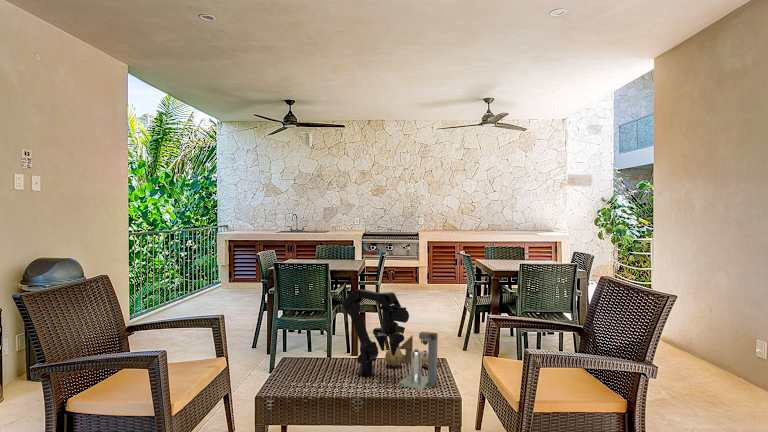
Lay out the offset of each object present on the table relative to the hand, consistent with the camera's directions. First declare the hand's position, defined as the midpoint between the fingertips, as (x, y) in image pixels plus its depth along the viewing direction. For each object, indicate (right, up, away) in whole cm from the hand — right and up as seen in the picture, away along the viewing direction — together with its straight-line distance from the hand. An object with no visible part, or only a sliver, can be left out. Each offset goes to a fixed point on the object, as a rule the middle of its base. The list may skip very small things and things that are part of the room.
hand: (388, 352), depth 213 cm
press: (+14, -13, -5) cm, 20 cm away
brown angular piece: (+8, -14, +30) cm, 34 cm away
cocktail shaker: (+13, -12, -2) cm, 18 cm away
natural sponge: (+3, -14, +21) cm, 25 cm away
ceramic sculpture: (+20, -14, +22) cm, 33 cm away
